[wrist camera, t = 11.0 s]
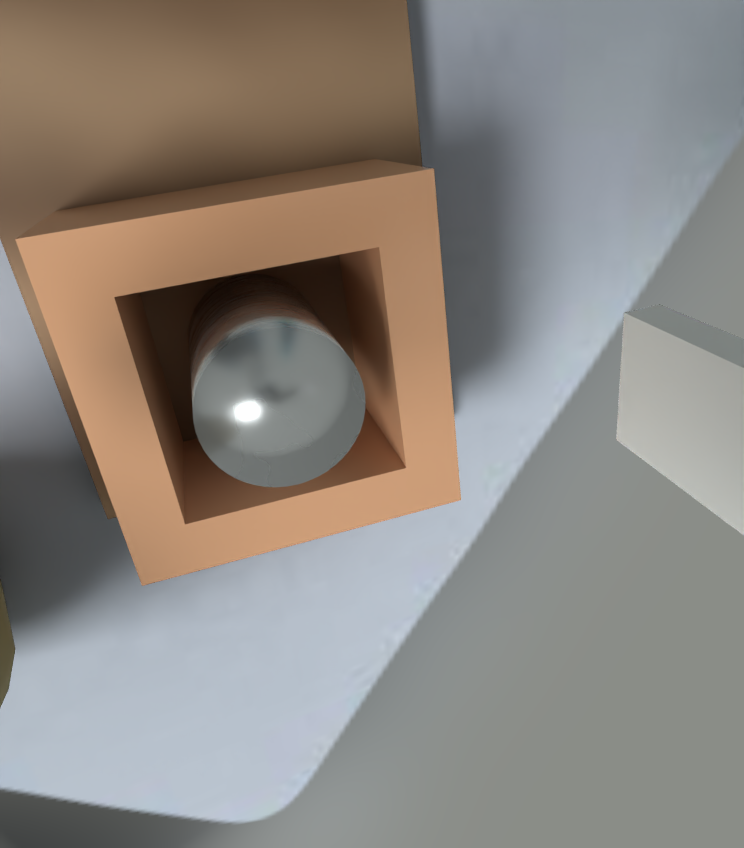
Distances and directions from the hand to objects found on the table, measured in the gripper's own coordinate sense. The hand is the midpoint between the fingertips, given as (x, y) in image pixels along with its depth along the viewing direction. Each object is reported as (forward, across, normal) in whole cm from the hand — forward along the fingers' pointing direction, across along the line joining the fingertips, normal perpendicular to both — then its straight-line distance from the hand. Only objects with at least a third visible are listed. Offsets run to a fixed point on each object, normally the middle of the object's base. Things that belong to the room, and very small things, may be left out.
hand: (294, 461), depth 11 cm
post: (+11, 0, -1) cm, 11 cm away
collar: (+10, 0, -1) cm, 10 cm away
